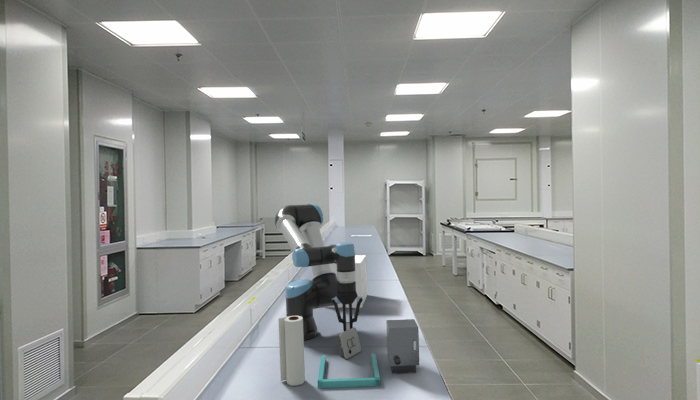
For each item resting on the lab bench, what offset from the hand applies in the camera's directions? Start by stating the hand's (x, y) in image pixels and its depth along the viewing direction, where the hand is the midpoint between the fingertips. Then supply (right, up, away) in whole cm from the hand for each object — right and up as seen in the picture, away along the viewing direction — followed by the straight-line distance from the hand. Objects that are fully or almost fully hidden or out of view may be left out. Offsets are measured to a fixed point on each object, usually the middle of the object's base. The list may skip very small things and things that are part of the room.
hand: (348, 338), depth 158 cm
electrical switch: (0, -3, -9) cm, 9 cm away
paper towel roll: (-18, -4, -29) cm, 34 cm away
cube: (-1, -2, +63) cm, 63 cm away
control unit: (+19, -3, -22) cm, 30 cm away
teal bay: (0, -3, -24) cm, 24 cm away
